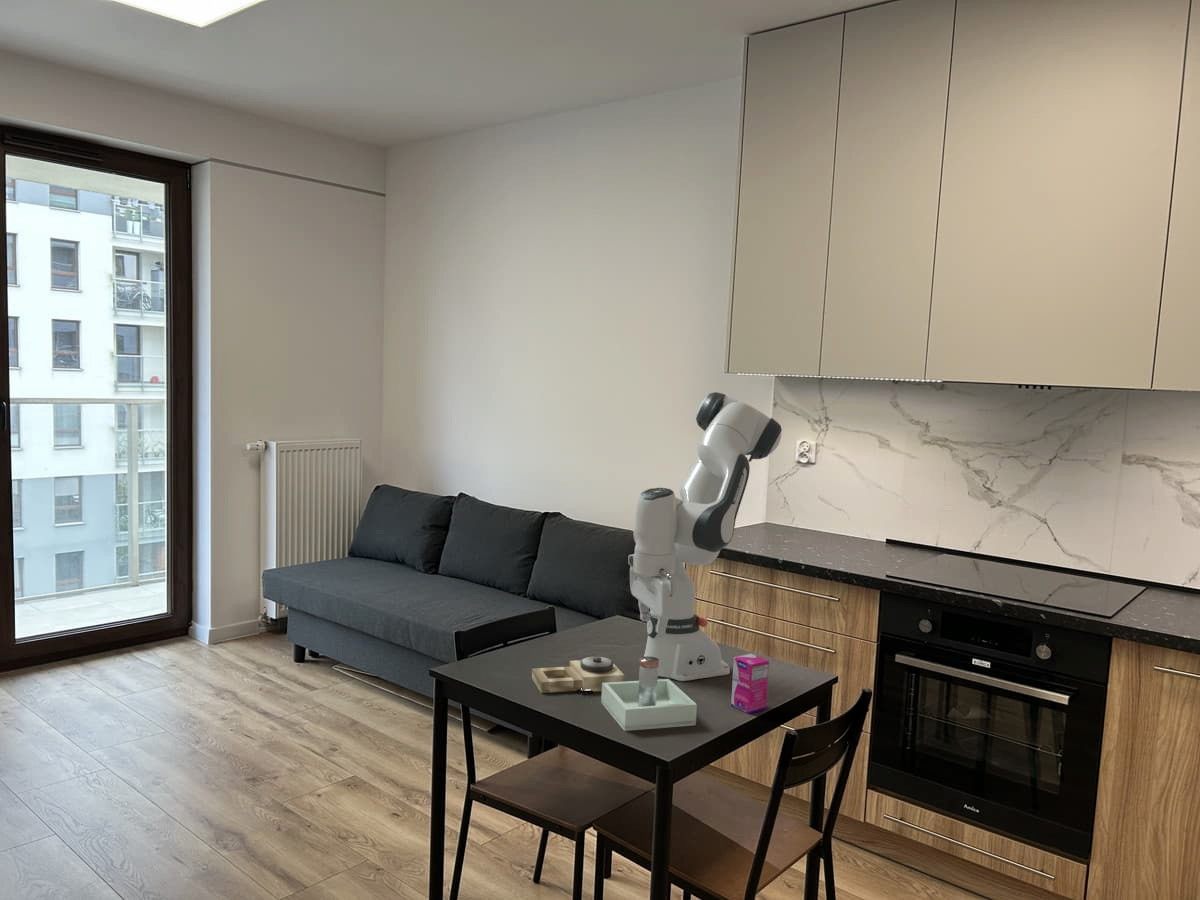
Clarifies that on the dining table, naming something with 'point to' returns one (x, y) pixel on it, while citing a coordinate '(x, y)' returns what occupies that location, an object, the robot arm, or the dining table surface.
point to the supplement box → (750, 683)
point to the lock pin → (648, 681)
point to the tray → (667, 712)
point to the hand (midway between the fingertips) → (652, 626)
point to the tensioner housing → (577, 675)
